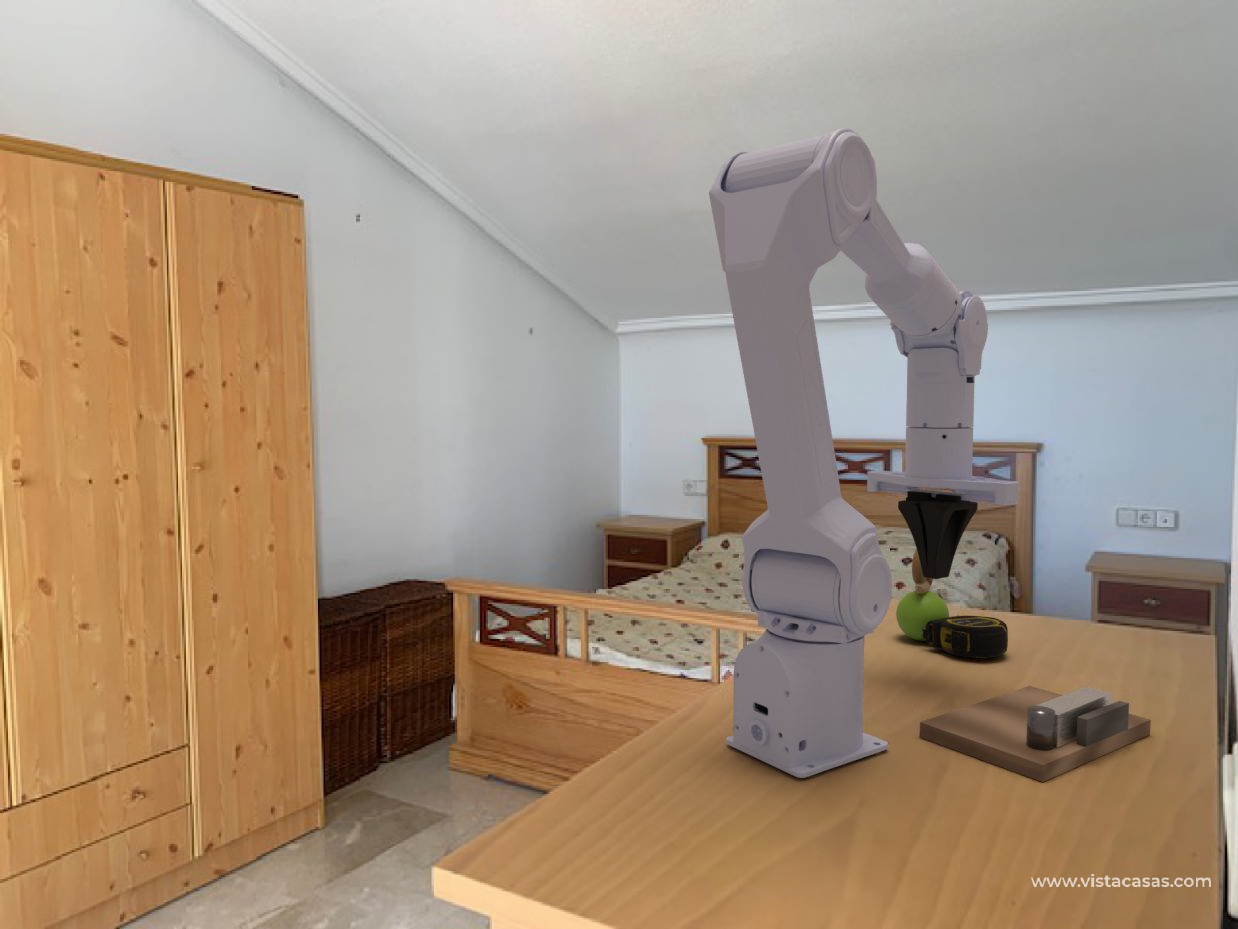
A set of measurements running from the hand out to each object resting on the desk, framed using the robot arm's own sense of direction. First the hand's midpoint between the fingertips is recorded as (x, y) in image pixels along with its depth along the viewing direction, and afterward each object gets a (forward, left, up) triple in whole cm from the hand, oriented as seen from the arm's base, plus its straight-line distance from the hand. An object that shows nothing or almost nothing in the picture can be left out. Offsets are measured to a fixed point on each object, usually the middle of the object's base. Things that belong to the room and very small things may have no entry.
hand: (936, 577), depth 82 cm
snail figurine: (+12, +10, -10) cm, 19 cm away
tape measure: (+11, +4, -10) cm, 16 cm away
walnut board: (-4, -13, -10) cm, 17 cm away
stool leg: (-5, -15, -9) cm, 18 cm away
